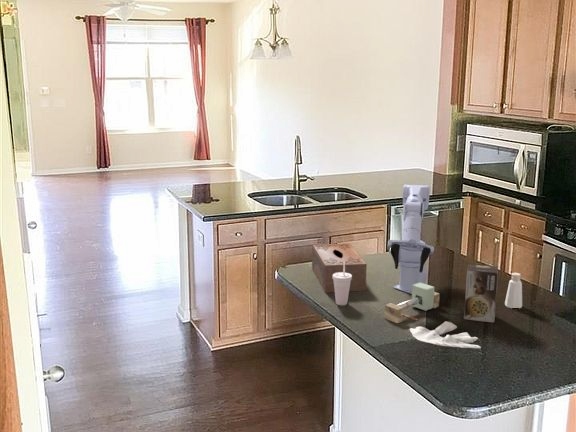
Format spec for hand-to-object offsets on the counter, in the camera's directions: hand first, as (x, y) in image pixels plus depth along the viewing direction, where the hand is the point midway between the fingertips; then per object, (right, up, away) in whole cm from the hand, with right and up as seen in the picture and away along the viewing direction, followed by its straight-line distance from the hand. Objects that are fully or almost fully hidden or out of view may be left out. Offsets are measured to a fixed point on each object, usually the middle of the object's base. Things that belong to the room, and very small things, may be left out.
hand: (408, 269), depth 192 cm
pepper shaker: (+35, -13, +6) cm, 38 cm away
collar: (+5, -13, +4) cm, 14 cm away
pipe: (+1, -11, 0) cm, 12 cm away
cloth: (+9, -19, -16) cm, 26 cm away
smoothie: (-21, -12, +8) cm, 25 cm away
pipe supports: (+1, -14, +1) cm, 14 cm away
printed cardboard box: (+21, -15, -3) cm, 26 cm away
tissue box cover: (-20, -7, +31) cm, 38 cm away
